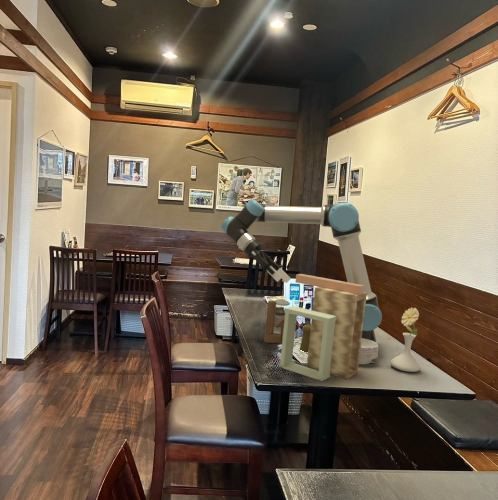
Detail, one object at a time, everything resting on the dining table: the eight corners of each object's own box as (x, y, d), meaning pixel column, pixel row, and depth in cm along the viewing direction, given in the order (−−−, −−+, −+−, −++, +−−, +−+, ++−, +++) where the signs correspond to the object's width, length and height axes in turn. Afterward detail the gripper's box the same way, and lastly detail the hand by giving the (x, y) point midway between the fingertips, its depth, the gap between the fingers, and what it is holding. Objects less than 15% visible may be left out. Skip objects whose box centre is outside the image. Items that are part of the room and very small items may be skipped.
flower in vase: (387, 362, 181) (394, 301, 179) (416, 365, 180) (423, 304, 178) (394, 374, 168) (402, 308, 166) (425, 377, 167) (434, 312, 165)
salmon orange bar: (295, 282, 173) (296, 274, 173) (300, 281, 176) (301, 273, 176) (359, 294, 158) (360, 286, 158) (363, 293, 161) (364, 285, 161)
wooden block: (289, 344, 194) (293, 303, 192) (264, 342, 193) (268, 301, 191) (287, 341, 197) (291, 301, 196) (263, 340, 196) (267, 299, 195)
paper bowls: (348, 352, 191) (350, 333, 190) (382, 362, 181) (385, 343, 180) (330, 359, 179) (333, 340, 178) (366, 370, 169) (368, 350, 169)
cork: (310, 354, 183) (313, 327, 182) (296, 350, 186) (299, 324, 185) (316, 351, 188) (318, 325, 187) (303, 347, 191) (305, 322, 190)
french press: (280, 327, 220) (285, 277, 218) (295, 334, 211) (301, 281, 208) (264, 328, 215) (269, 277, 213) (279, 335, 205) (284, 282, 203)
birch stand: (306, 366, 168) (314, 287, 165) (318, 360, 176) (327, 285, 173) (346, 379, 159) (356, 295, 156) (357, 372, 167) (366, 292, 164)
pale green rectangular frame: (279, 367, 165) (285, 308, 163) (287, 363, 170) (293, 306, 168) (322, 381, 155) (329, 318, 153) (329, 376, 160) (336, 316, 157)
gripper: (253, 254, 204) (286, 287, 198) (233, 249, 181) (269, 285, 174) (264, 242, 203) (297, 274, 196) (245, 235, 180) (282, 271, 173)
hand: (284, 280), depth 185 cm, fingers open, 13 cm apart
